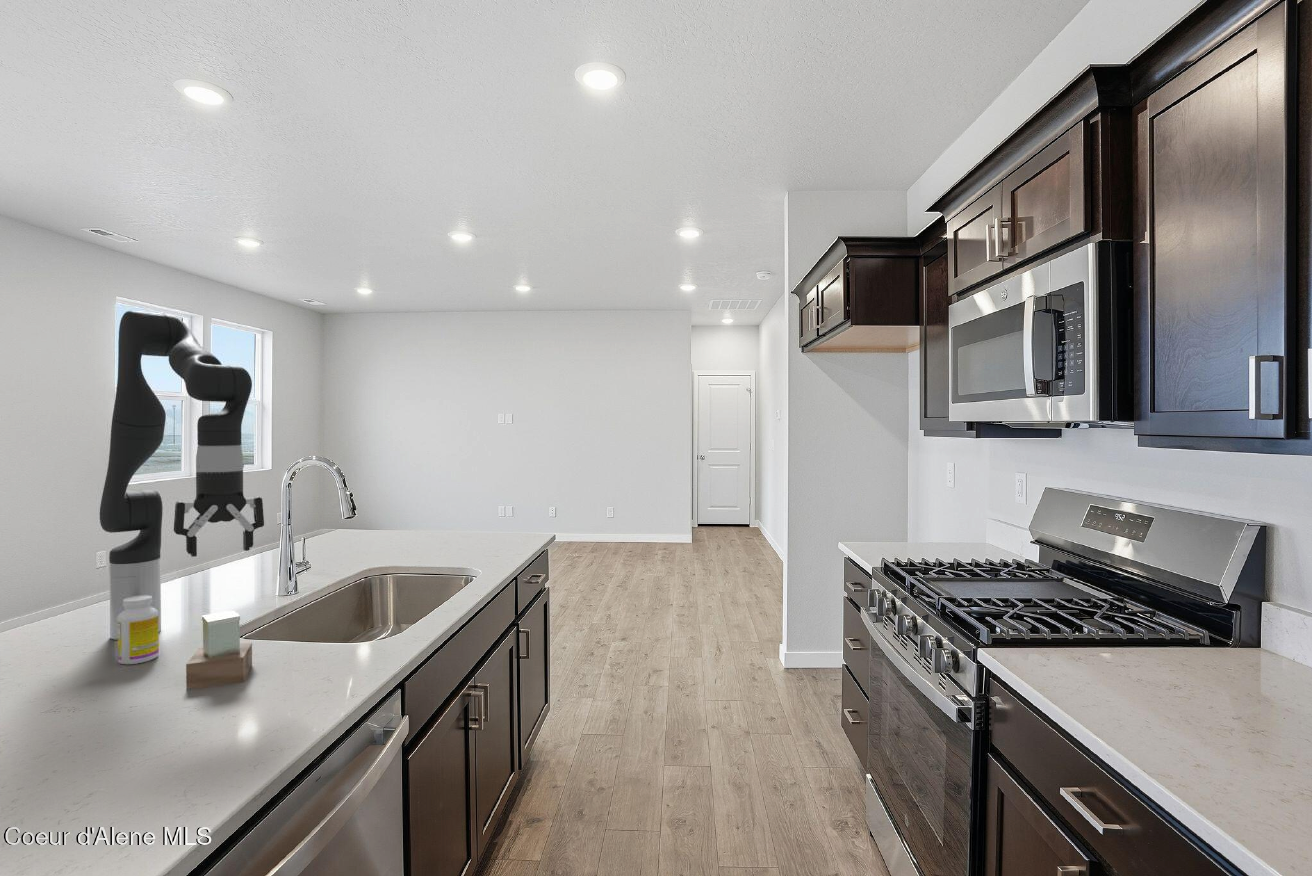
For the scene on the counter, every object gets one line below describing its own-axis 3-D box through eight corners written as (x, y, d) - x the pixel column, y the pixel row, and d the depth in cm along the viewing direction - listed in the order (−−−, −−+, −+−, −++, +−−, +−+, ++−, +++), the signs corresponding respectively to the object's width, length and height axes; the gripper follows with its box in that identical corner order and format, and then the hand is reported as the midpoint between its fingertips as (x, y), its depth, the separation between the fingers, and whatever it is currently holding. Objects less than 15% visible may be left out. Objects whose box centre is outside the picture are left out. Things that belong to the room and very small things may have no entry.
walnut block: (198, 673, 128) (198, 648, 127) (252, 666, 131) (251, 642, 131) (186, 690, 119) (186, 663, 119) (243, 683, 123) (243, 657, 123)
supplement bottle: (167, 654, 137) (166, 594, 137) (139, 666, 130) (138, 602, 130) (138, 653, 138) (137, 593, 137) (108, 664, 131) (108, 601, 131)
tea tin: (202, 652, 125) (202, 615, 125) (233, 645, 129) (233, 610, 129) (208, 659, 122) (207, 621, 121) (240, 652, 125) (240, 615, 125)
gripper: (258, 466, 132) (258, 545, 132) (171, 469, 122) (172, 554, 123) (266, 468, 126) (267, 551, 127) (176, 471, 117) (177, 561, 117)
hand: (220, 553), depth 125 cm, fingers open, 8 cm apart
